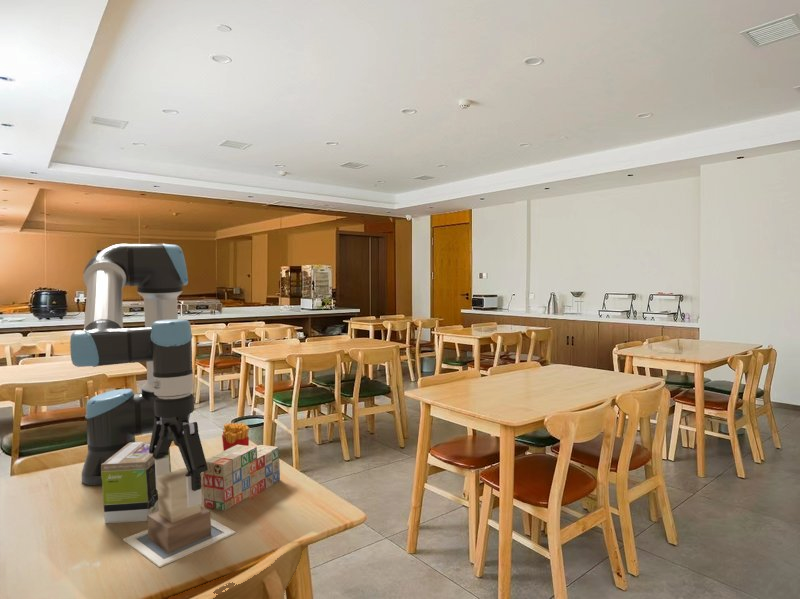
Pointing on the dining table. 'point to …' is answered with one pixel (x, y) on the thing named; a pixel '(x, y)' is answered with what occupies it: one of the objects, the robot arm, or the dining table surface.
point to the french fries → (235, 435)
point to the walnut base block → (178, 530)
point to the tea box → (130, 484)
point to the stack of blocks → (239, 474)
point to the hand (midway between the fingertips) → (178, 496)
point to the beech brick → (174, 496)
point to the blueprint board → (164, 558)
